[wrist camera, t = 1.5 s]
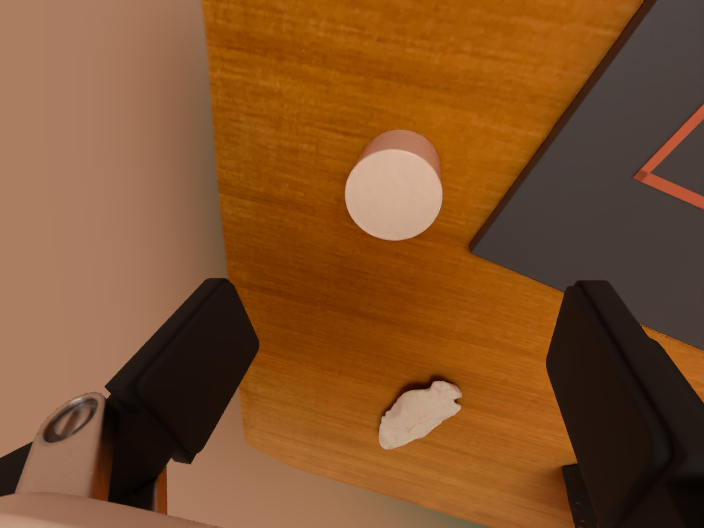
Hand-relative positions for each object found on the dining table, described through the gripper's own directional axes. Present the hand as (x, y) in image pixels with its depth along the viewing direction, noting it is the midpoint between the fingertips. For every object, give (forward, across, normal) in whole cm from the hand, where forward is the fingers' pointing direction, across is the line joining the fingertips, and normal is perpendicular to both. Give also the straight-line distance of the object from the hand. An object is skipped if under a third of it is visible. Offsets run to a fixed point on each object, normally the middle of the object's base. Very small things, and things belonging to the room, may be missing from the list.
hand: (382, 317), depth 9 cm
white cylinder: (+13, +1, 0) cm, 13 cm away
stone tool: (+13, +1, +26) cm, 29 cm away
